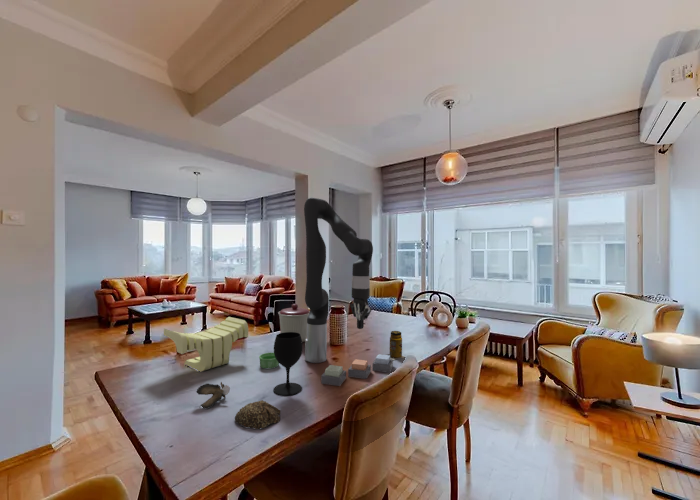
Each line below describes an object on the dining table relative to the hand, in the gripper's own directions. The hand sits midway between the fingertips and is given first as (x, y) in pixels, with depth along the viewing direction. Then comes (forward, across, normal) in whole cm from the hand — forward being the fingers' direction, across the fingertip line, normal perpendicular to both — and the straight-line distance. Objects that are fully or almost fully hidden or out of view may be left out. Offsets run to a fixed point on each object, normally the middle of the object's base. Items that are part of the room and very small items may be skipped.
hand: (360, 328), depth 129 cm
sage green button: (+17, 0, -12) cm, 21 cm away
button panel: (+19, 0, 0) cm, 19 cm away
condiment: (+19, -9, +27) cm, 34 cm away
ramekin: (+19, -29, -28) cm, 45 cm away
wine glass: (+19, -2, -31) cm, 36 cm away
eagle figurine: (+19, -7, -55) cm, 59 cm away
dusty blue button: (+17, 0, +12) cm, 21 cm away
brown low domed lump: (+20, +11, -45) cm, 51 cm away
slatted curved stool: (+19, -44, -51) cm, 70 cm away
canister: (+19, -57, -5) cm, 60 cm away
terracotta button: (+17, 0, 0) cm, 17 cm away
